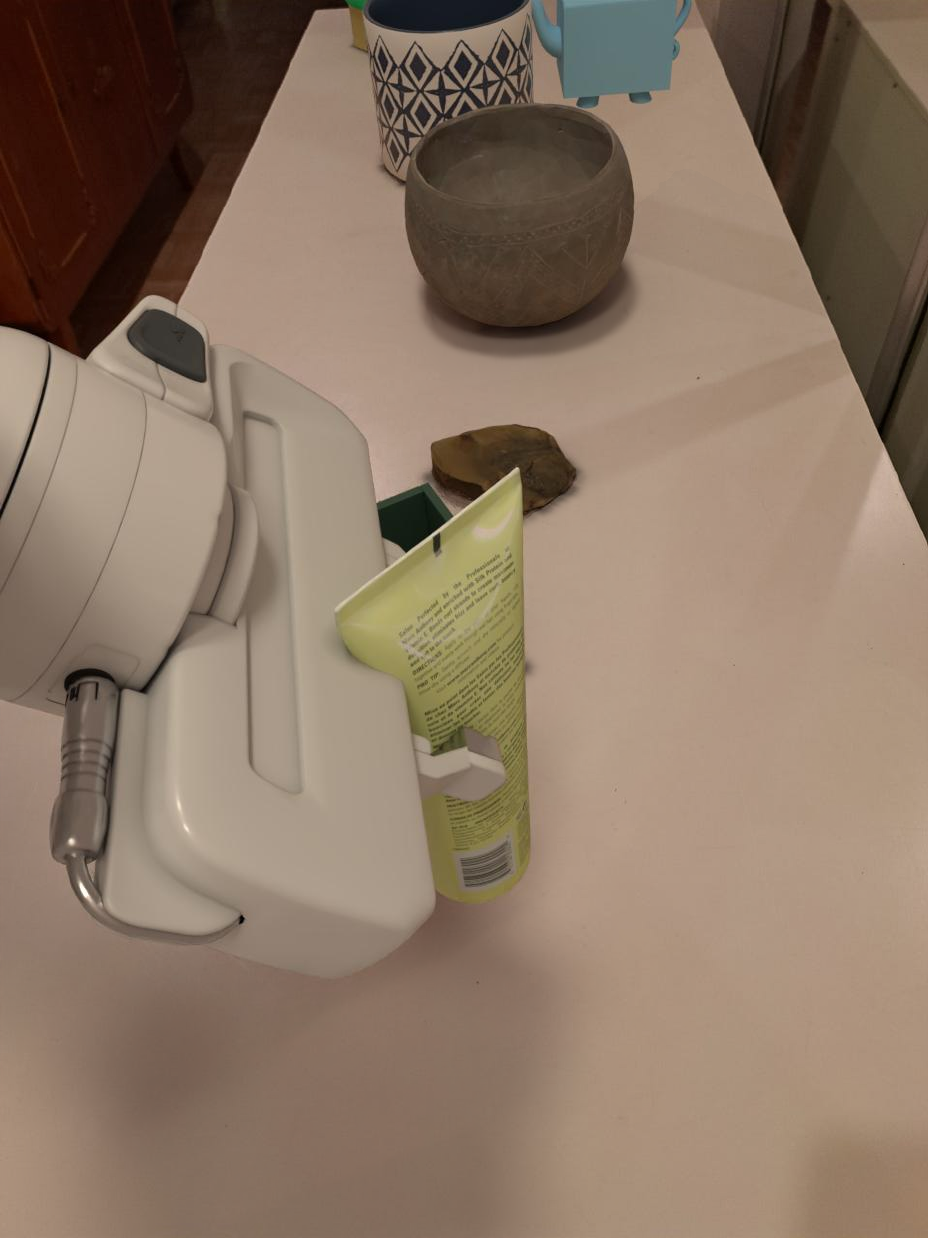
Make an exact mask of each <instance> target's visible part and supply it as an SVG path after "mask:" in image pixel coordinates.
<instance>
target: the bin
mask: <svg viewBox="0 0 928 1238" xmlns="http://www.w3.org/2000/svg"><path fill="white" fill-rule="evenodd" d="M376 503H377V509H378V516H379V523H380V529H381V536H382V538H384V539H387V540H389V541H391V542H393V543H395V544H397V545H399V546H400V547H401V548H402V549H403V551H404V552H405V553H407V552H408V551H410V550H411V549H412V548H414V547H415V546H416V545H418V544H419V543H420V542H422V541H423V540H425V539H426V538H427V537H429V536H430V535H431V534H432V533H434V532H435V531H436V530H438V529H439V528H440V527H441V526H443V525H444V524H445V523H446V522H448V521H449V520H450V519H451V518H453V517H454V516H455V515H453V513H452V512H451V510H450V509H449V507H448V506H447V505H446V504H445V503H444V501H443V499H442V498H441V497H440V496H439V495H438V493H437V492H436V490H435V489H434V488H433V487H432V486H431V484H430V483H429V482H425V483H422V484H420V485H418V486H415V487H413V488H410V489H408V490H405V491H403V492H400V493H398V494H395V495H393V496H390V497H387V498H385V499H383V500H380V501H378V502H376Z"/></svg>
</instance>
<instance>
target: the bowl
mask: <svg viewBox="0 0 928 1238" xmlns="http://www.w3.org/2000/svg"><path fill="white" fill-rule="evenodd" d="M634 216H635V190H634V182H633V176H632V171H631V167H630V163H629V159H628V157H627V154H626V151H625V148H624V146H623V144H622V141H621V139H620V137H619V135H617V132H615V130H614V129H613V128H612V126H611V125H610V124H609V123H608V122H606V121H605V120H603V119H601V118H600V117H598V116H597V115H595V114H594V113H592V112H590V111H588V110H585V109H583V108H580V107H577V106H573V105H566V104H559V103H558V104H557V103H540V102H533V103H513V104H502V105H492V106H487V107H483V108H479V109H475V110H472V111H469V112H467V113H464V114H462V115H459V116H456V117H454V118H451V119H449V120H447V121H444V122H442V123H440V124H438V125H436V126H435V127H434V128H432V129H431V130H429V131H428V132H427V133H426V134H425V135H424V137H422V139H421V140H420V141H419V142H418V143H417V145H416V147H415V148H414V150H413V152H412V155H411V158H410V161H409V164H408V169H407V176H406V181H405V188H404V219H405V220H404V223H405V224H404V225H405V233H406V237H407V242H408V245H409V249H410V253H411V256H412V257H413V260H414V264H415V265H416V268H417V269H418V272H419V274H420V276H421V277H422V278H423V280H424V281H425V283H426V284H427V285H428V287H429V288H430V289H431V291H432V292H433V293H434V294H435V296H436V297H437V298H439V299H440V300H441V301H442V302H443V303H444V304H445V305H446V306H448V308H451V309H452V310H454V311H456V312H457V313H459V314H461V315H462V316H465V317H466V318H469V319H471V320H473V321H476V322H479V323H482V324H485V325H490V326H496V327H508V328H509V327H515V328H518V327H536V326H541V325H545V324H549V323H553V322H557V321H559V320H561V319H563V318H565V317H568V316H569V315H571V314H574V313H575V312H577V311H579V310H580V309H582V308H583V307H585V306H586V305H587V304H588V303H590V302H591V301H592V300H594V299H595V298H596V297H597V296H598V295H599V294H600V293H601V292H602V291H603V289H604V288H606V286H607V285H608V283H610V281H611V280H612V278H613V277H614V275H615V274H616V272H617V270H618V268H619V267H620V265H621V264H622V262H623V260H624V258H625V255H626V252H627V250H628V247H629V243H630V241H631V237H632V232H633V226H634V218H635V217H634Z"/></svg>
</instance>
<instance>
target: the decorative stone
mask: <svg viewBox="0 0 928 1238" xmlns="http://www.w3.org/2000/svg"><path fill="white" fill-rule="evenodd" d="M430 453H431V455H430V458H431V462H432V464H431V465H432V467H431V471H430V472H431V475H432V476H433V478H434V479H435V480H436V481H437V482H438V483H439V484H440V485H441V486H443V487H444V488H447V489H449V490H451V491H454V492H457V493H460V494H461V495H463V496H465V497H466V498H468V499H470V500H472V501H475V500H476V499H477V498H479V497H480V496H481V495H483V494H484V493H485V492H486V491H488V490H489V489H490V488H491V487H493V486H494V485H495V484H496V483H498V482H499V481H500V480H501V479H503V478H504V477H505V476H507V475H508V474H509V473H510V472H512V471H513V470H514V469H515V468H516V467H518V468H519V470H520V478H521V483H522V506H523V513H524V512H527V511H529V510H531V509H534V508H540V507H543V506H545V505H546V504H548V503H550V502H551V501H552V500H554V499H556V498H558V497H559V496H560V495H561V494H563V493H565V492H566V491H567V489H568V488H569V487H570V484H571V483H572V480H573V477H574V476H575V475H576V473H577V469H576V467H575V466H574V465H573V464H572V463H571V462H570V461H569V460H568V459H567V457H566V455H565V453H564V451H562V449H561V448H560V445H559V444H558V442H557V439H556V438H555V436H554V435H552V434H551V433H549V432H548V431H546V430H544V429H541V428H539V427H535V426H527V425H522V424H518V423H512V424H501V425H500V424H499V425H491V426H485V427H483V428H478V429H472V430H468V431H464V432H462V433H460V434H458V435H452V436H448V437H444V438H441V439H439V440H435V441H433V442H431V445H430Z"/></svg>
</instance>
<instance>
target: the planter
mask: <svg viewBox="0 0 928 1238" xmlns="http://www.w3.org/2000/svg"><path fill="white" fill-rule="evenodd" d="M362 12H363V20H364V28H365V36H366V43H367V50H368V51H367V56H368V64H369V71H370V72H369V73H370V78H371V83H372V84H371V85H372V94H373V100H374V101H373V102H374V107H375V108H374V109H375V113H376V114H375V115H376V121H377V128H378V136H379V142H380V143H379V144H380V150H381V156H382V162H383V164H384V166H385V168H386V169H387V171H389V172H390V173H391V174H392V175H393V176H395V177H396V178H398V179H399V180H402V181H404V182H406V176H407V169H408V164H409V161H410V158H411V155H412V152H413V150H414V148H415V147H416V145H417V143H418V142H419V141H420V140H421V139H422V137H424V135H425V134H426V133H427V132H428V131H429V130H431V129H432V128H434V127H435V126H436V125H438V124H440V123H442V122H444V121H447V120H449V119H451V118H454V117H456V116H459V115H462V114H464V113H467V112H469V111H472V110H475V109H479V108H483V107H487V106H492V105H502V104H513V103H534V61H533V59H534V56H533V55H534V54H533V18H532V7H531V0H367V1H366V2H365V4H364V6H363V10H362Z"/></svg>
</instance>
